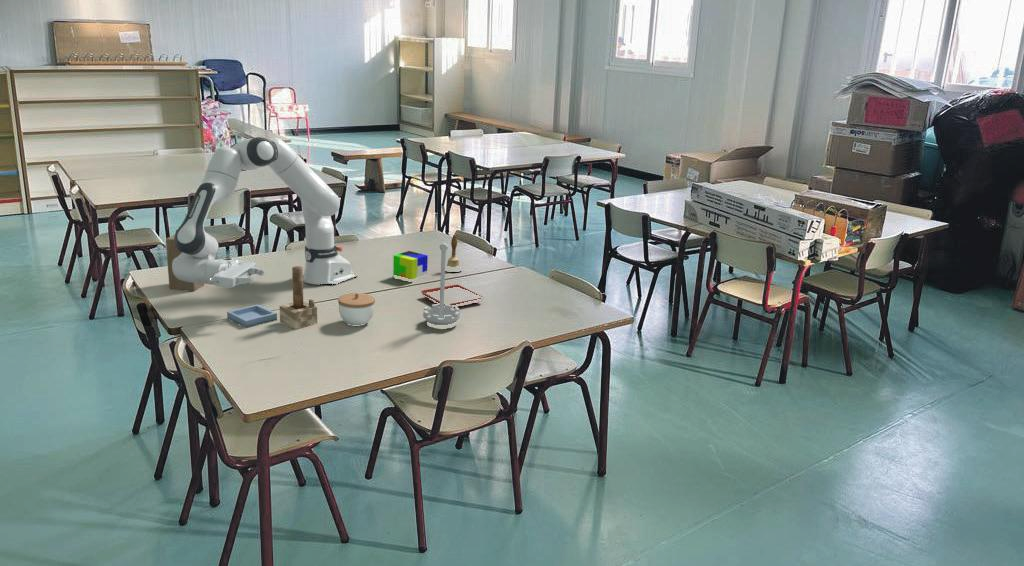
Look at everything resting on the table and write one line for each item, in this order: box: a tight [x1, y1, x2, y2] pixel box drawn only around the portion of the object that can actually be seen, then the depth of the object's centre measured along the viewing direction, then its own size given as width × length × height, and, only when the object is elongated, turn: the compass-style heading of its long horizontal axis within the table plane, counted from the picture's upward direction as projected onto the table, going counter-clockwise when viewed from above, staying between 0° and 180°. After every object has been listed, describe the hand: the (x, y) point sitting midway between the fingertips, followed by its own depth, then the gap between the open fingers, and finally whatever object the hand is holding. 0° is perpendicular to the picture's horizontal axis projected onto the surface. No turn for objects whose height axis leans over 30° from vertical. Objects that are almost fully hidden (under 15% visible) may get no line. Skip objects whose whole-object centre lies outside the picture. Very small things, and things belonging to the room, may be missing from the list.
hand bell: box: [446, 234, 460, 267], centre depth 343 cm, size 8×8×16 cm
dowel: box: [291, 266, 304, 310], centre depth 272 cm, size 3×3×18 cm
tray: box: [226, 304, 278, 329], centre depth 275 cm, size 12×12×2 cm
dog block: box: [279, 298, 318, 330], centre depth 274 cm, size 9×9×8 cm
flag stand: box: [422, 242, 461, 325], centre depth 278 cm, size 13×13×30 cm
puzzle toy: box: [392, 250, 429, 279], centre depth 330 cm, size 10×10×10 cm
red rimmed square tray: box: [420, 284, 483, 306], centre depth 306 cm, size 18×18×3 cm
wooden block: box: [165, 234, 206, 292], centre depth 301 cm, size 10×10×20 cm
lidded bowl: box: [337, 292, 376, 325], centre depth 276 cm, size 13×13×11 cm
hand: (258, 276), depth 272 cm, fingers open, 8 cm apart
